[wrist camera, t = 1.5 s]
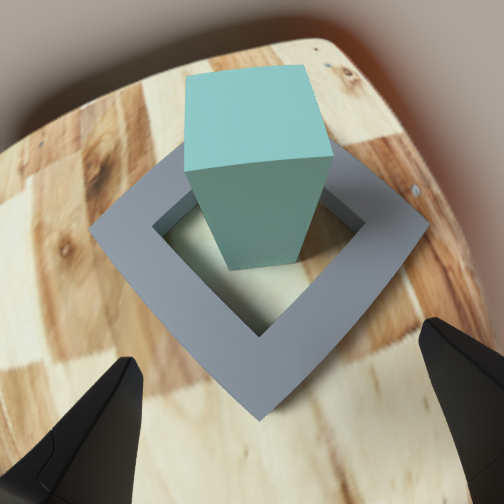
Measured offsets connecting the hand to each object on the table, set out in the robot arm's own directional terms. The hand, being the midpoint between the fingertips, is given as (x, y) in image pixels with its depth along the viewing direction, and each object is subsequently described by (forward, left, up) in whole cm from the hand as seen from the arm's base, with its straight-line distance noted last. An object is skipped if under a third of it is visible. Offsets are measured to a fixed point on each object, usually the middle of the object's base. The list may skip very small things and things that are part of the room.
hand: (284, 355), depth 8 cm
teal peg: (+7, -5, -14) cm, 16 cm away
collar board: (+7, -5, -13) cm, 16 cm away
